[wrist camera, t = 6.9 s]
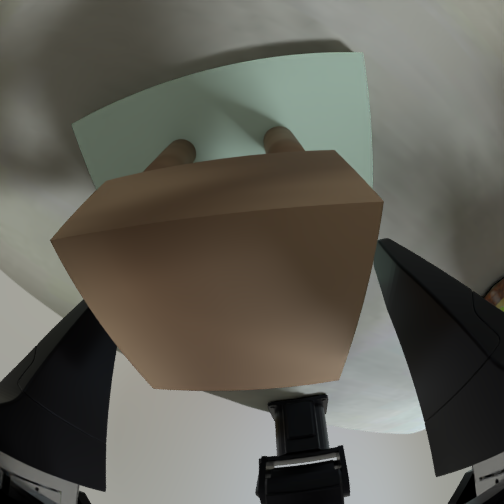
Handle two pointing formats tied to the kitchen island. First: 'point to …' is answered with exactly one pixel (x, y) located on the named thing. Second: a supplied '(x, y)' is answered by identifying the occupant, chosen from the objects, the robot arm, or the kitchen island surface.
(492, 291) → the sauce bottle
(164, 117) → the pad
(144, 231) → the stool
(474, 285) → the kitchen island surface
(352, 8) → the kitchen island surface
